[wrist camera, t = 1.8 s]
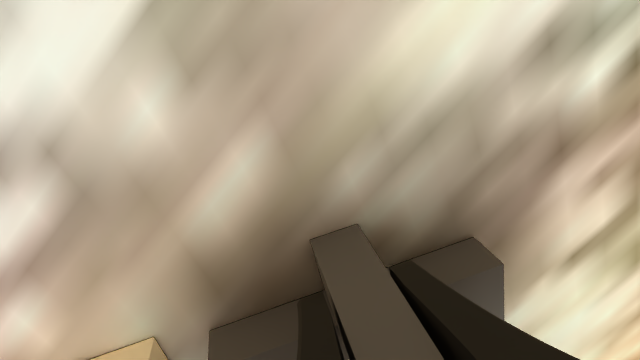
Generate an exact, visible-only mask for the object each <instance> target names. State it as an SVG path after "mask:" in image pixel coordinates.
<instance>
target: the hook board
mask: <svg viewBox="0 0 640 360" xmlns="http://www.w3.org/2000/svg"><path fill="white" fill-rule="evenodd" d="M90 360H168V359H167V358H166V356H165V354H164V353H163V351H162V350H161V348H160V346H159V345H158V343H157V342H156V340H155V338H154V337H153V338H150V339H147V340H144V341H142V342H139V343H136V344H133V345H130V346H127V347H124V348H122V349H119V350H116V351H113V352H110V353H107V354H105V355H102V356H99V357H96V358H93V359H90Z"/></svg>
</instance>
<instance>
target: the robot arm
mask: <svg viewBox="0 0 640 360" xmlns="http://www.w3.org/2000/svg"><path fill="white" fill-rule="evenodd" d="M389 270H390V276H391V277H392V279H393V280H394V282H395V283H396V285H397V286H398V288H399V290H400V291H401V293H402V294H403V296H404V297H405V299H406V301H407V302H408V304H409V305H410V307H411V308H412V310H413V312H414V313H415V315H416V316H417V318H418V319H419V321H420V323H421V324H422V326H423V327H424V329H425V330H426V332H427V333H428V335H429V337H430V338H431V340H432V341H433V343H434V344H435V346H436V348H437V349H438V351H439V352H440V354H441V355H442V357H443V359H444V360H580V359H578V358H575V357H573V356H571V355H569V354H567V353H565V352H563V351H561V350H559V349H557V348H554V347H552V346H550V345H548V344H546V343H544V342H542V341H540V340H538V339H537V338H535V337H533V336H531V335H529V334H527V333H525V332H523V331H521V330H520V329H518V328H516V327H514V326H513V325H511V324H509V323H507V322H505V321H504V320H502V319H500V318H498V317H497V316H495V315H493V314H492V313H490V312H488V311H487V310H485V309H483V308H482V307H480V306H479V305H477V304H475V303H474V302H472V301H471V300H469V299H467V298H466V297H464V296H463V295H461V294H460V293H458V292H457V291H455V290H454V289H452V288H451V287H449V286H448V285H446V284H445V283H443V282H442V281H440V280H439V279H437V278H436V277H435V276H433V275H432V274H430V273H429V272H428V271H426V270H425V269H423V268H422V267H421V266H419V265H418V264H416V263H415V262H413V261H411V260H408V261H406V262H403V263H400V264H397V265H394V266H392V267H389ZM297 308H298V350H297V360H345V359H344V356H343V353H342V349H341V346H340V343H339V339H338V336H337V333H336V329H335V326H334V323H333V319H332V316H331V313H330V310H329V307H328V305H327V302H326V299H325V297H324V294H323V292H322V291H321V292H318V293H316V294H313V295H310V296H307V297H304V298H301V299H300V300H299V301H298V303H297Z"/></svg>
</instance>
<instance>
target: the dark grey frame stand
mask: <svg viewBox="0 0 640 360" xmlns="http://www.w3.org/2000/svg"><path fill="white" fill-rule="evenodd" d="M310 242H311V245H312V249H313V252H314V256H315V259H316V262H317V266H318V269H319V272H320V276H321V279H322V282H323V286H324V289H325V290H324V291H322V292H323V294H324V297H325V299H326V302H327V305H328V307H329V310H330V313H331V316H332V319H333V323H334V326H335V329H336V333H337V336H338V339H339V343H340V346H341V349H342V353H343V356H344V359H345V360H348V359H350V360H444V359H443V357H442V355H441V354H440V352H439V351H438V349H437V348H436V346H435V344H434V343H433V341H432V340H431V338H430V337H429V335H428V333H427V332H426V330H425V329H424V327H423V326H422V324H421V323H420V321H419V319H418V318H417V316H416V315H415V313H414V312H413V310H412V308H411V307H410V305H409V304H408V302H407V301H406V299H405V297H404V296H403V294H402V293H401V291H400V290H399V288H398V286H397V285H396V283H395V282H394V280H393V279H392V277H391V276H390V270H389V267H388V268H385V266H384V265H383V263H382V261H381V260H380V258H379V257H378V255H377V254H376V252H375V250H374V249H373V247H372V246H371V244H370V243H369V241H368V239H367V238H366V236H365V235H364V233H363V232H362V230H361V229H360V227H359V225H358V224H356V225H353V226H350V227H347V228H344V229H341V230H338V231H335V232H332V233H329V234H326V235H323V236H320V237H317V238H314V239H311V240H310ZM411 261H413V262H415V263H416V264H418V265H419V266H421V267H422V268H423V269H425V270H426V271H428V272H429V273H430V274H432V275H433V276H435V277H436V278H437V279H439V280H440V281H442V282H443V283H445V284H446V285H448V286H449V287H451V288H452V289H454V290H455V291H457V292H458V293H460V294H461V295H463V296H464V297H466V298H467V299H469V300H471V301H472V302H474V303H475V304H477V305H479V306H480V307H482V308H483V309H485V310H487V311H488V312H490V313H492V314H493V315H495V316H497V317H498V318H500V319H502V320H504V264H503V263H502V262H501V261H500V260H499V259H498V258H496V257H495V256H494V255H493V254H492V253H491V252H490V251H489V250H487V249H486V248H485V247H484V246H483V245H482V244H481V243H480V242H479V241H477V240H476V239H475V238H474V237H473V238H470V239H467V240H465V241H462V242H459V243H456V244H453V245H450V246H448V247H445V248H442V249H439V250H436V251H434V252H431V253H428V254H425V255H422V256H419V257H417V258H414V259H411ZM405 262H406V261H405ZM391 267H392V266H391ZM315 294H316V293H315ZM312 295H313V294H312ZM299 300H300V299H298V300H296V301H293V302H290V303H287V304H284V305H281V306H279V307H276V308H273V309H270V310H267V311H265V312H262V313H259V314H256V315H253V316H250V317H248V318H245V319H242V320H239V321H236V322H234V323H231V324H228V325H225V326H222V327H219V328H217V329H214V330H211V331H209V353H208V360H297V350H298V308H297V303H298V301H299Z"/></svg>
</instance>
